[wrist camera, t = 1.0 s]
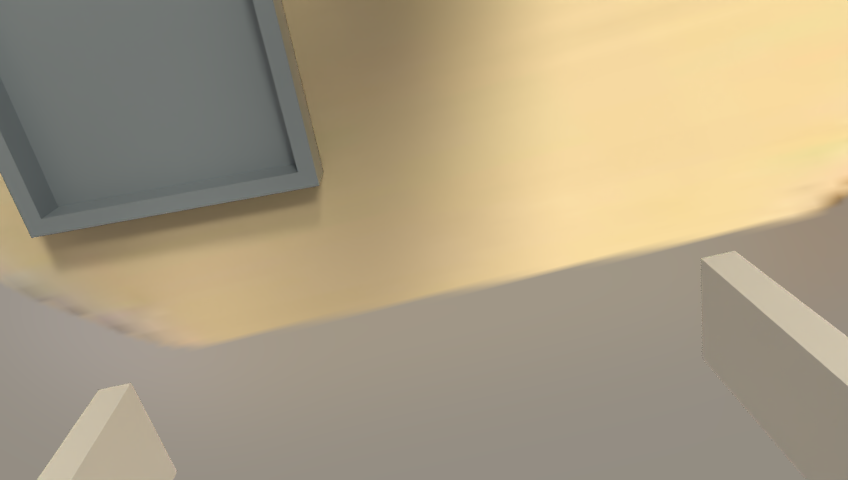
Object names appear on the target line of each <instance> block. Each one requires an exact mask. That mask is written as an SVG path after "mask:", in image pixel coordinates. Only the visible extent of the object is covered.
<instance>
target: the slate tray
mask: <svg viewBox="0 0 848 480" xmlns="http://www.w3.org/2000/svg"><path fill="white" fill-rule="evenodd" d="M0 173H1V175H2V177H3V179H4V181H5V183H6V186H7V188H8V190H9V192H10V194H11V196H12V198H13V200H14V202H15V204H16V206H17V209H18V211H19V213H20V215H21V217H22V219H23V221H24V223H25V225H26V227H27V230H28V232H29V234H30V236H31V238H33V237H39V236H45V235H50V234H56V233H61V232H67V231H72V230H78V229H83V228H89V227H94V226H100V225H105V224H111V223H116V222H122V221H127V220H133V219H138V218H144V217H149V216H155V215H160V214H166V213H171V212H177V211H183V210H188V209H194V208H199V207H205V206H210V205H216V204H221V203H227V202H232V201H238V200H243V199H249V198H254V197H260V196H265V195H271V194H276V193H282V192H287V191H293V190H298V189H304V188H310V187H315V186H319V185H320V182H321V178H322V175H323V168H322V164H321V160H320V156H319V151H318V147H317V143H316V139H315V135H314V131H313V127H312V123H311V119H310V115H309V111H308V107H307V103H306V98H305V94H304V90H303V86H302V82H301V78H300V74H299V70H298V66H297V62H296V58H295V54H294V49H293V45H292V41H291V37H290V33H289V29H288V25H287V21H286V17H285V13H284V9H283V5H282V1H281V0H0Z"/></svg>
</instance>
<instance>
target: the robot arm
mask: <svg viewBox="0 0 848 480" xmlns="http://www.w3.org/2000/svg"><path fill="white" fill-rule="evenodd" d="M701 291H702V292H701V294H702V356H703V357H702V358H703V360H704V361H705V362H706V363H707V364H708V365H709V367H710V368H711V369H712V370H713V371H714V373H715V374H716V375H717V376H718V377H719V378H720V380H721V381H722V382H723V383H724V384H725V385H726V387H727V388H728V389H729V390H730V391H731V392H732V394H733V395H734V396H735V397H736V398H737V400H738V401H739V402H740V403H741V404H742V405H743V406H744V408H745V409H746V410H747V411H748V412H749V414H750V415H751V416H752V417H753V418H754V419H755V421H756V422H757V423H758V424H759V425H760V427H761V428H762V429H763V430H764V431H765V432H766V434H767V435H768V436H769V437H770V438H771V439H772V441H773V442H774V443H775V444H776V445H777V446H778V448H779V449H780V450H781V451H782V452H783V453H784V455H785V456H786V457H787V458H788V459H789V461H790V462H791V463H792V464H793V465H794V466H795V468H796V469H797V470H798V471H799V472H800V473H801V475H802V476H803V477H804V478H805V479H806V480H848V337H847V336H846V335H844V334H843V333H841V332H840V331H839V330H838V329H836V328H835V327H834V326H833V325H831V324H830V323H828V322H827V321H826V320H825V319H823V318H822V317H821V316H819V315H818V314H817V313H815V312H814V311H813V310H812V309H810V308H809V307H808V306H806V305H805V304H804V303H802V302H801V301H800V300H798V299H797V298H796V297H795V296H793V295H792V294H791V293H789V292H788V291H787V290H785V289H784V288H783V287H781V286H780V285H779V284H777V283H776V282H775V281H774V280H772V279H771V278H770V277H768V276H767V275H765V274H764V273H763V272H761V270H759V269H758V268H756V267H755V266H754V265H753V264H751V263H750V262H749V261H747V260H746V259H745V258H743V257H742V256H741V255H739V254H738V253H737V252H735V251H733V252H728V253H723V254H719V255H714V256H710V257H705V258H701ZM176 472H177V471H176V469H175V467H174V465H173V463H172V461H171V459H170V457H169V455H168V453H167V451H166V449H165V447H164V445H163V444H162V442H161V440H160V438H159V436H158V434H157V432H156V430H155V428H154V426H153V424H152V422H151V420H150V418H149V416H148V414H147V413H146V411H145V409H144V407H143V405H142V403H141V401H140V399H139V397H138V395H137V393H136V391H135V389H134V387H133V385H132V384H131V383H128V384H123V385H118V386H114V387H109V388H105V389H100V390H98V391H97V393H96V394H95V396H94V397H93V399H92V400H91V402H90V403H89V405H88V406H87V408H86V409H85V410H84V412H83V413H82V415H81V416H80V418H79V419H78V421H77V422H76V424H75V425H74V426H73V428H72V429H71V431H70V432H69V434H68V435H67V437H66V438H65V440H64V441H63V443H62V444H61V445H60V447H59V448H58V450H57V451H56V453H55V454H54V456H53V457H52V459H51V460H50V461H49V463H48V464H47V466H46V467H45V469H44V470H43V472H42V473H41V475H40V476H39V478H38V479H37V480H173V479H174V477H175V474H176Z"/></svg>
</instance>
